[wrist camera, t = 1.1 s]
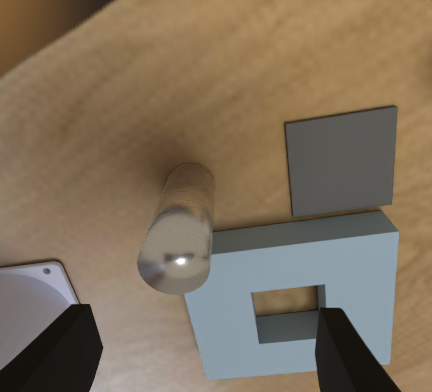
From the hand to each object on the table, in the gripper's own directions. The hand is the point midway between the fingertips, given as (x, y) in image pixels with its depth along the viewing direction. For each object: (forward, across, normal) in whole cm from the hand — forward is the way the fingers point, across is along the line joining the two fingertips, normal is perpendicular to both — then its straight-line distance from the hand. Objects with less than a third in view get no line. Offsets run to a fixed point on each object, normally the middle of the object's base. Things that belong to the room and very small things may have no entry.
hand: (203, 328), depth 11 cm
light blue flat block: (+11, -4, +9) cm, 15 cm away
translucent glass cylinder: (+11, +2, +1) cm, 12 cm away
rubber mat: (+12, -7, 0) cm, 14 cm away
